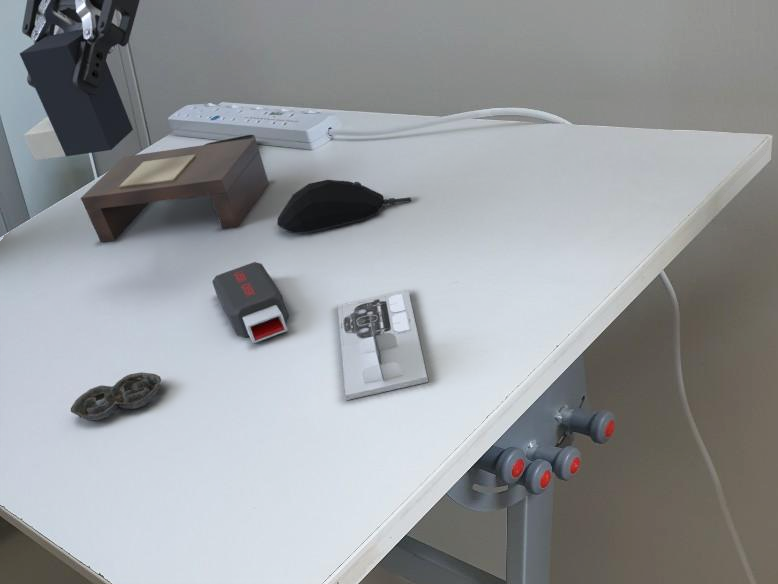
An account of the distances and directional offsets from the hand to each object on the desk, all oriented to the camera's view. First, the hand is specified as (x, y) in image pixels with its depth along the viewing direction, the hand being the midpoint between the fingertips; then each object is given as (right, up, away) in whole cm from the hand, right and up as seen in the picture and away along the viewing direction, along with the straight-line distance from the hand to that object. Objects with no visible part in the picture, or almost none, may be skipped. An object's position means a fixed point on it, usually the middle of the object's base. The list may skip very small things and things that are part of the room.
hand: (61, 89), depth 79 cm
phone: (+7, +8, +36) cm, 37 cm away
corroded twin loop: (+7, -29, -4) cm, 30 cm away
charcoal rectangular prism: (0, -3, +5) cm, 6 cm away
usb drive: (+17, -19, +4) cm, 26 cm away
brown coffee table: (+5, -1, +27) cm, 27 cm away
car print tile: (+29, -24, -5) cm, 38 cm away
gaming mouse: (+25, -5, +17) cm, 30 cm away
